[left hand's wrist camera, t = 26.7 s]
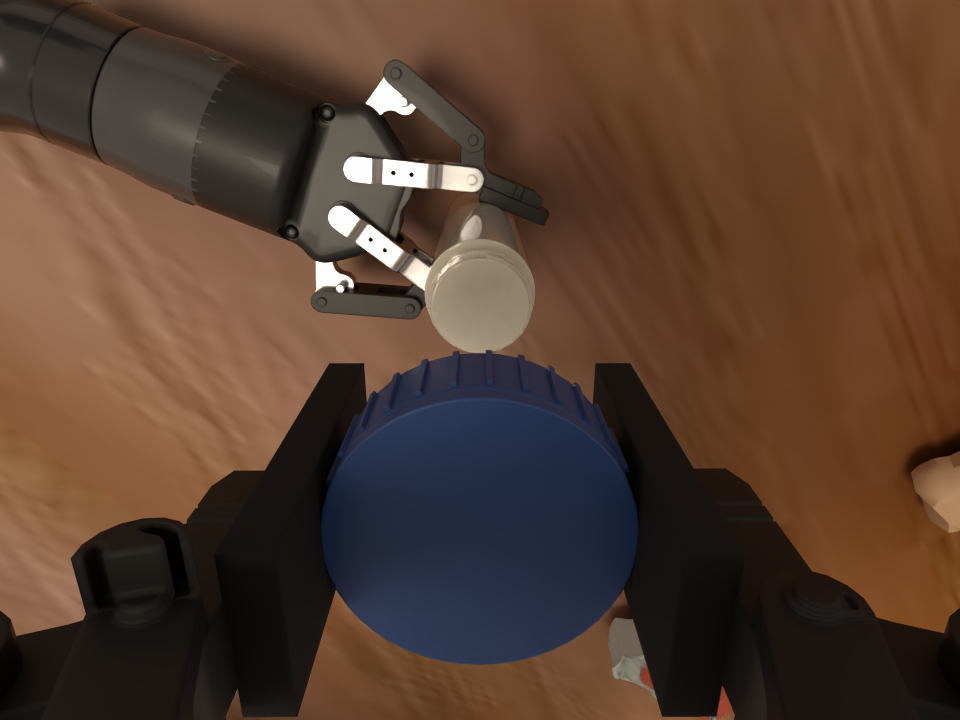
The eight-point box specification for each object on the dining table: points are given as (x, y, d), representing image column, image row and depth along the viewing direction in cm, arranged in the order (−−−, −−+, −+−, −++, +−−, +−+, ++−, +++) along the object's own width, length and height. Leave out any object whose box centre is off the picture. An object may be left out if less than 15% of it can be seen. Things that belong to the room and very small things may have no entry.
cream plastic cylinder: (502, 262, 41) (519, 375, 23) (439, 244, 41) (408, 346, 23) (521, 198, 40) (554, 266, 22) (456, 179, 40) (436, 233, 22)
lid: (677, 456, 12) (714, 518, 10) (502, 631, 13) (506, 713, 12) (451, 288, 11) (445, 324, 9) (287, 500, 12) (253, 568, 10)
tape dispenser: (785, 711, 57) (834, 533, 49) (817, 771, 52) (876, 584, 44) (589, 723, 57) (604, 544, 48) (603, 784, 52) (622, 597, 43)
